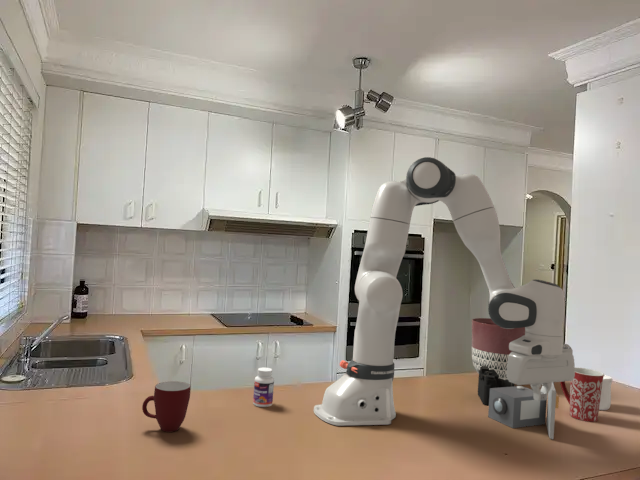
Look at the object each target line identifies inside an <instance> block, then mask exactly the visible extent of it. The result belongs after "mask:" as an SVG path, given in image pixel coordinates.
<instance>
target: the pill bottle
mask: <svg viewBox="0 0 640 480" xmlns="http://www.w3.org/2000/svg"><path fill="white" fill-rule="evenodd" d="M272 375H273V368H270V367H258V368H257V376H255V378H254V382H253V383H254V385H253V397H252V399H253V400H252V404H253V405H254V406H255V407H259V408H267V407H271V406H273V403H274V402H273V400H274V388H275V387H274V386H275V378H274V377H273V376H272Z"/></svg>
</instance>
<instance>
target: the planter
mask: <svg viewBox="0 0 640 480" xmlns="http://www.w3.org/2000/svg"><path fill="white" fill-rule="evenodd" d="M524 335H525V327H523V328H513V329H506V328H502V327H500V326H498V325H496V324H495V323H494V322H493V321H492V320H491V318H490V317H488V318H487V317H481V318H480V317H476V318H472V319H471V359H472V365H473V367H474V369H475V371H476V372H477V373H478V375H479V370H480V367H482V366H483V365H484V366H487V367H488V368H489V370H491V369H494V370H495V371H496V373H497V374H498V377H499V378H501V379H503V380H508V379H507V362H508V356H509V354H510V353H511V352H512V351H511V350H509V343H510V342H512V341H514V340H516V339H518V338H520V337H522V336H524Z"/></svg>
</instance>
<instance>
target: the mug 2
mask: <svg viewBox="0 0 640 480" xmlns="http://www.w3.org/2000/svg"><path fill="white" fill-rule="evenodd" d="M604 375H605V373H603V372H602V371H598V370H596V369H592V368H591V369H590V368H585V367H575V376H574V378H573V380H572V381H569V383H570V384H569V390H568V389H567V386H566V381H563V382H559V383H560V387H561V390H562V392H563V395H564V397H565V399H566V401H567V402H568V405H569V416H570V417H572V418H574V419H577V420H579V421H582V422H590V423H591V422H598V420H599V412H600V410H599V405H600V398H601V390H602V383H603V377H604Z"/></svg>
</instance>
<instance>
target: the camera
mask: <svg viewBox="0 0 640 480" xmlns="http://www.w3.org/2000/svg"><path fill="white" fill-rule="evenodd" d="M477 381H478V383H477V395H478V398H479V400H480V401H481V403H482V405H484V406H485V407H489V395H490V388H501V387H514V386H516V384H514V383H511V382H509V380H503V379H501V378H499V377H498V374H497V373H496V371H495V370H494V369H491V370H489V368H488V367H487V366H484V365H483V366H482V367H480V370H479V374H478V380H477Z"/></svg>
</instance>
